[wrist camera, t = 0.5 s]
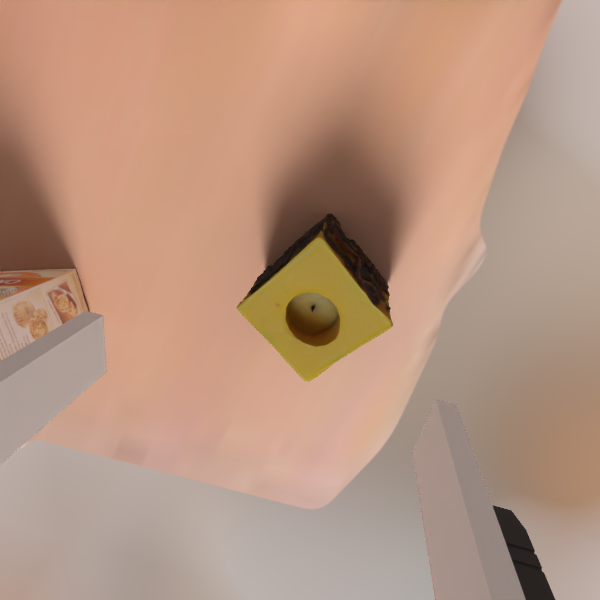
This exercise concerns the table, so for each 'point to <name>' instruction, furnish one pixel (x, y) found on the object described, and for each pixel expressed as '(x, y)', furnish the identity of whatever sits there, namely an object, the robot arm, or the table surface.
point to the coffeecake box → (36, 305)
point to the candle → (319, 300)
